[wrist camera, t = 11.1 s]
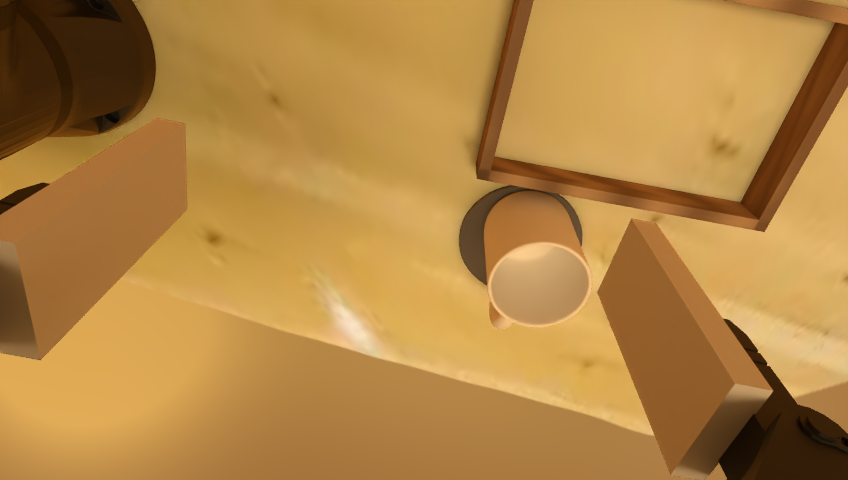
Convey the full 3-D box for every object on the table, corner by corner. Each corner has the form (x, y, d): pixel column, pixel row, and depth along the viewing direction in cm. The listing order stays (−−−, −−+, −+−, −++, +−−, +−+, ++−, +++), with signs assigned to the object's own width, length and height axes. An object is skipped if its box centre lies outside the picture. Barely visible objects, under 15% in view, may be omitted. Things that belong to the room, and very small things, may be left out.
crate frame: (475, 163, 49) (476, 178, 46) (527, -55, 40) (532, -55, 37) (746, 214, 50) (764, 231, 47) (855, 10, 41) (887, 16, 38)
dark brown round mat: (449, 278, 56) (448, 281, 55) (473, 173, 50) (473, 176, 49) (560, 297, 56) (561, 301, 55) (598, 196, 50) (599, 199, 49)
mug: (524, 300, 56) (536, 370, 47) (453, 272, 54) (451, 337, 45) (586, 207, 50) (613, 266, 41) (507, 174, 49) (518, 226, 40)
